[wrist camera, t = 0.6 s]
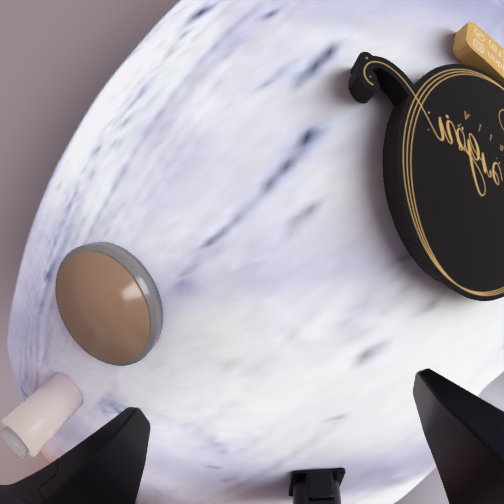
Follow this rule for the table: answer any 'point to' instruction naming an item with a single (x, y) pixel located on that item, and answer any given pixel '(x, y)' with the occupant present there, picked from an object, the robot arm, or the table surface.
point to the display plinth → (109, 303)
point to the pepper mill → (40, 416)
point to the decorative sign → (446, 161)
